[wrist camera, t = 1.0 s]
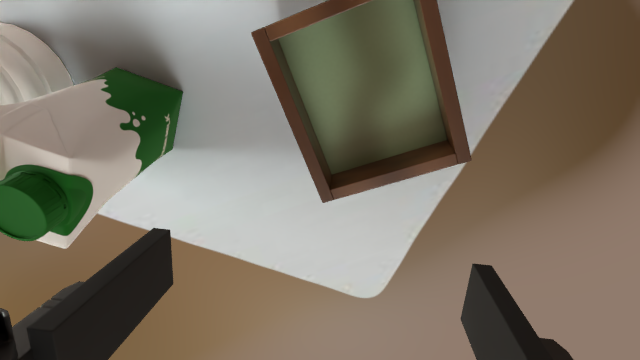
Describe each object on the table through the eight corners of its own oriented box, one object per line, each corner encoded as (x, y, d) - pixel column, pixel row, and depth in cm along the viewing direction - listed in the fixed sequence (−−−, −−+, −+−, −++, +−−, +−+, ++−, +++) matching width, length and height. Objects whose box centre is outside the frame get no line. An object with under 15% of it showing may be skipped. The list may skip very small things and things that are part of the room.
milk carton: (179, 158, 42) (52, 279, 24) (100, 131, 41) (-90, 234, 24) (193, 86, 38) (54, 166, 20) (107, 54, 38) (-115, 108, 20)
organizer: (330, 152, 40) (322, 203, 31) (279, 21, 35) (250, 32, 25) (441, 117, 38) (471, 160, 28) (405, -31, 32) (427, -41, 22)
